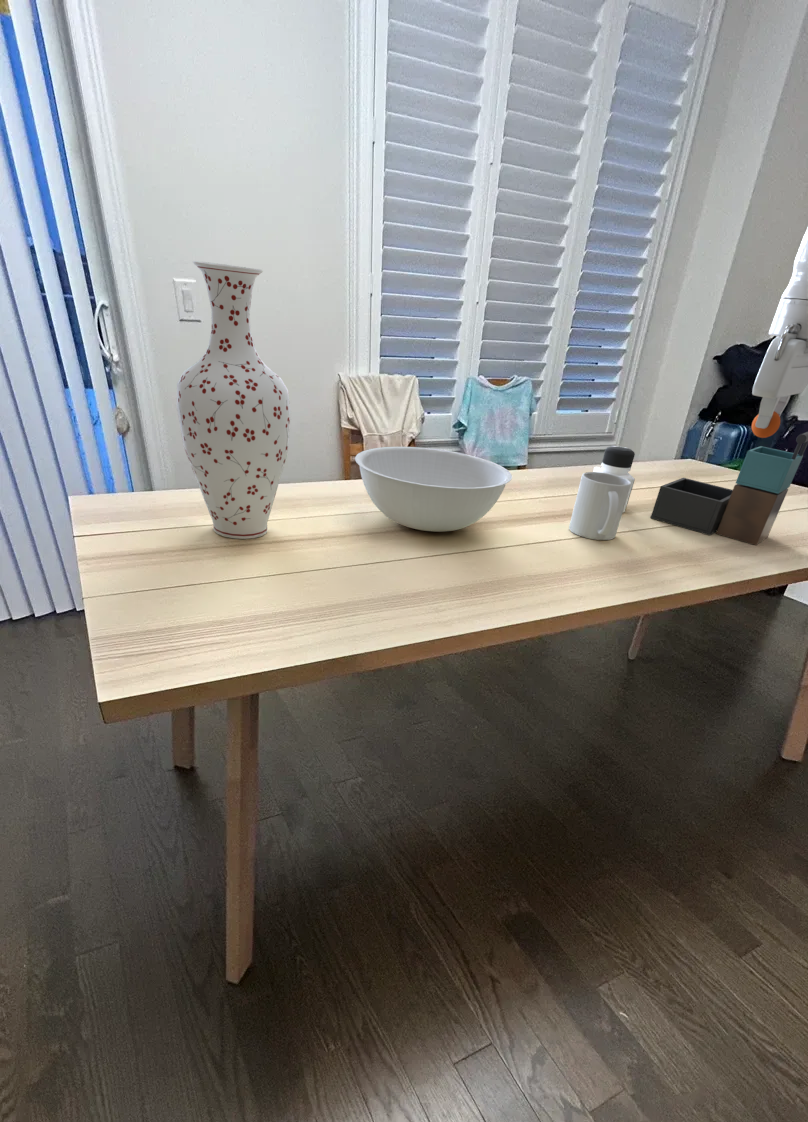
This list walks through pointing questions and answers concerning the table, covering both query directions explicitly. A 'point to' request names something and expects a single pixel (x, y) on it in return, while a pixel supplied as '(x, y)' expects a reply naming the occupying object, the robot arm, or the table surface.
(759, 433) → the ball
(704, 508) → the basket
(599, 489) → the mug
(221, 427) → the vase
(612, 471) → the medicine bottle
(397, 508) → the bowl
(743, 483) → the box
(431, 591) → the table surface
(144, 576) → the table surface
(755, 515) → the stand
